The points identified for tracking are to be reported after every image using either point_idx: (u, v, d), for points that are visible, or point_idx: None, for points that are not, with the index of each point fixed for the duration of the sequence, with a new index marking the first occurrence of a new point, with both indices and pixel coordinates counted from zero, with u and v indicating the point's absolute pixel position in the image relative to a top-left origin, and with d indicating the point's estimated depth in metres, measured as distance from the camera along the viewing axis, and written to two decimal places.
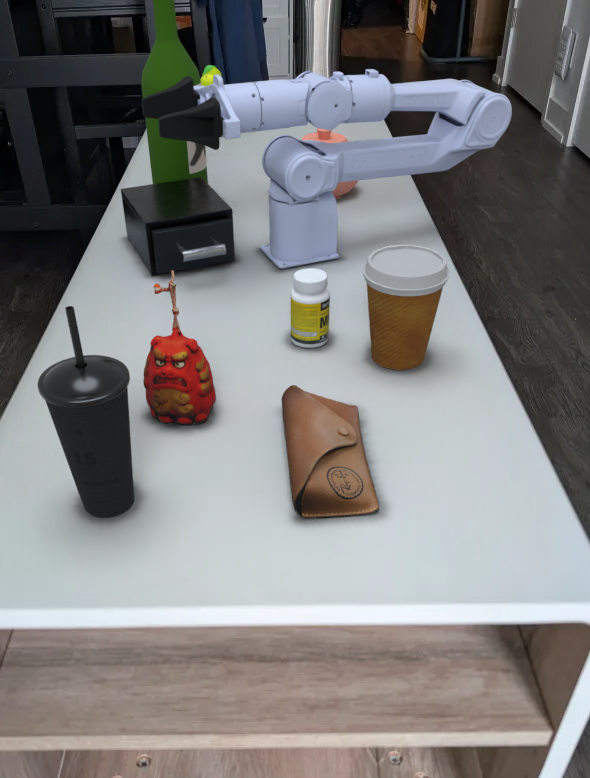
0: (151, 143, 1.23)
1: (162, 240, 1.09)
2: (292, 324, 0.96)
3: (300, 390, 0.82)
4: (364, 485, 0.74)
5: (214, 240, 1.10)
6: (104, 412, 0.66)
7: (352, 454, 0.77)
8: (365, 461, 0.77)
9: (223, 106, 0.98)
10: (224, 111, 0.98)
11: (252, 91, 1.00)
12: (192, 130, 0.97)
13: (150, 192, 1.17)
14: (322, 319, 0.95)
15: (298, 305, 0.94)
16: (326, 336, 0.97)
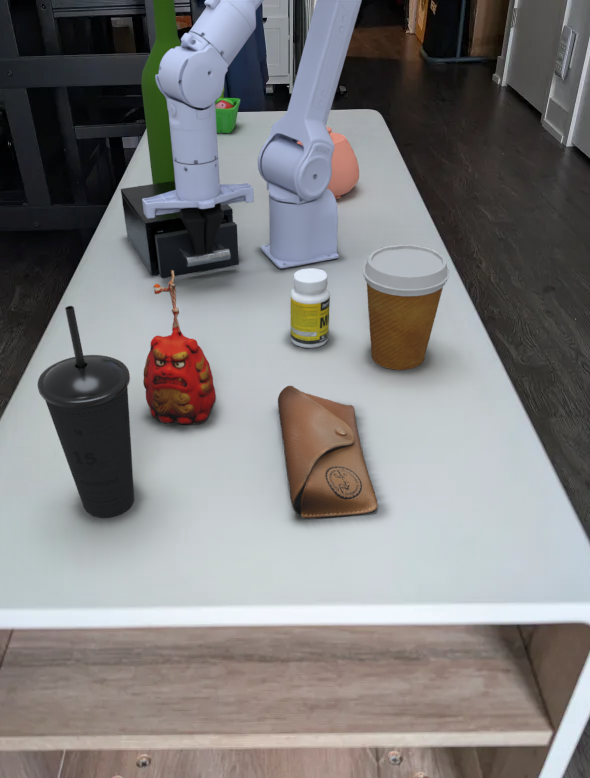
0: (151, 143, 1.23)
1: (166, 245, 1.08)
2: (292, 324, 0.96)
3: (296, 390, 0.82)
4: (363, 485, 0.74)
5: (218, 245, 1.09)
6: (104, 412, 0.66)
7: (350, 453, 0.77)
8: (363, 461, 0.77)
9: None
10: None
11: (213, 167, 0.99)
12: None
13: (150, 192, 1.17)
14: (322, 319, 0.95)
15: (298, 305, 0.94)
16: (326, 336, 0.97)
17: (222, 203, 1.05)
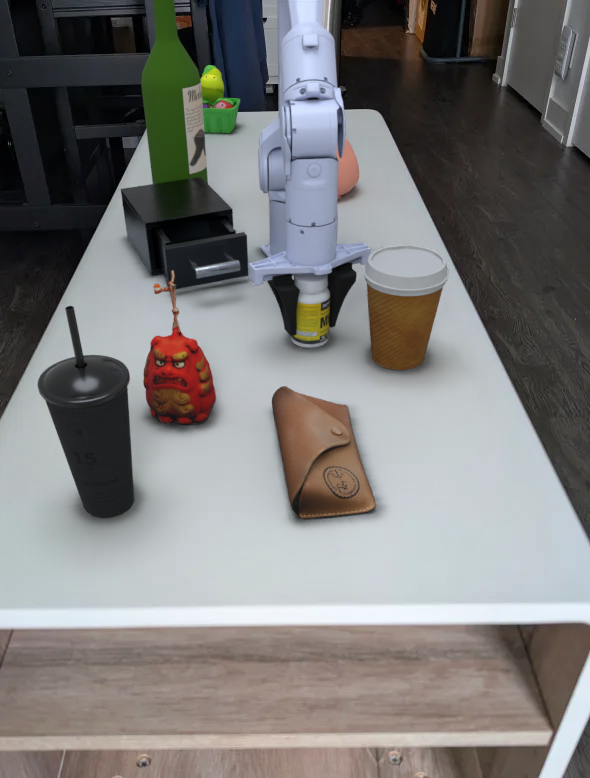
0: (151, 143, 1.23)
1: (174, 256, 1.05)
2: None
3: (291, 391, 0.82)
4: (360, 484, 0.74)
5: (228, 256, 1.06)
6: (104, 412, 0.66)
7: (347, 453, 0.77)
8: (359, 460, 0.77)
9: None
10: None
11: (332, 229, 0.88)
12: None
13: (150, 192, 1.17)
14: (322, 319, 0.95)
15: (298, 305, 0.94)
16: (326, 336, 0.97)
17: None
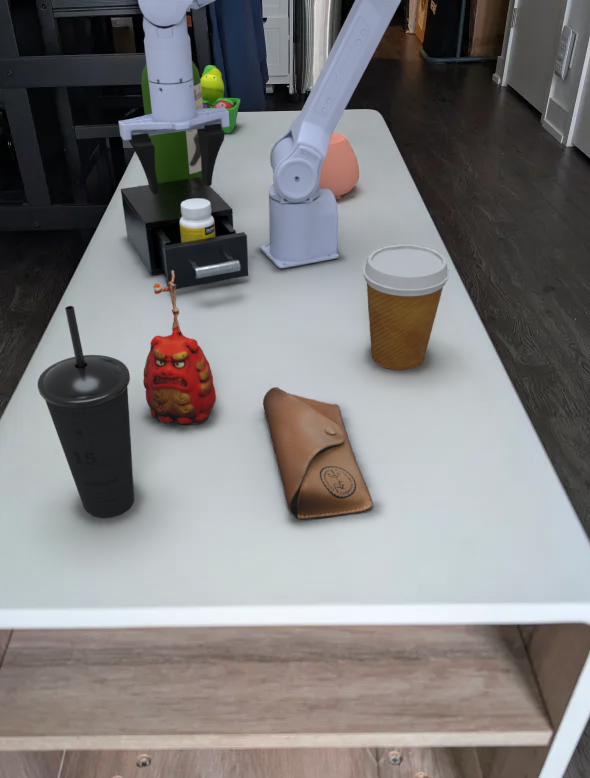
0: None
1: (174, 256, 1.05)
2: None
3: (282, 392, 0.82)
4: (357, 484, 0.75)
5: (228, 256, 1.06)
6: (104, 412, 0.66)
7: (342, 452, 0.77)
8: (354, 459, 0.77)
9: None
10: None
11: (188, 88, 1.01)
12: None
13: (150, 192, 1.17)
14: None
15: (185, 229, 1.06)
16: None
17: (198, 127, 1.06)
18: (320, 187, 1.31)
